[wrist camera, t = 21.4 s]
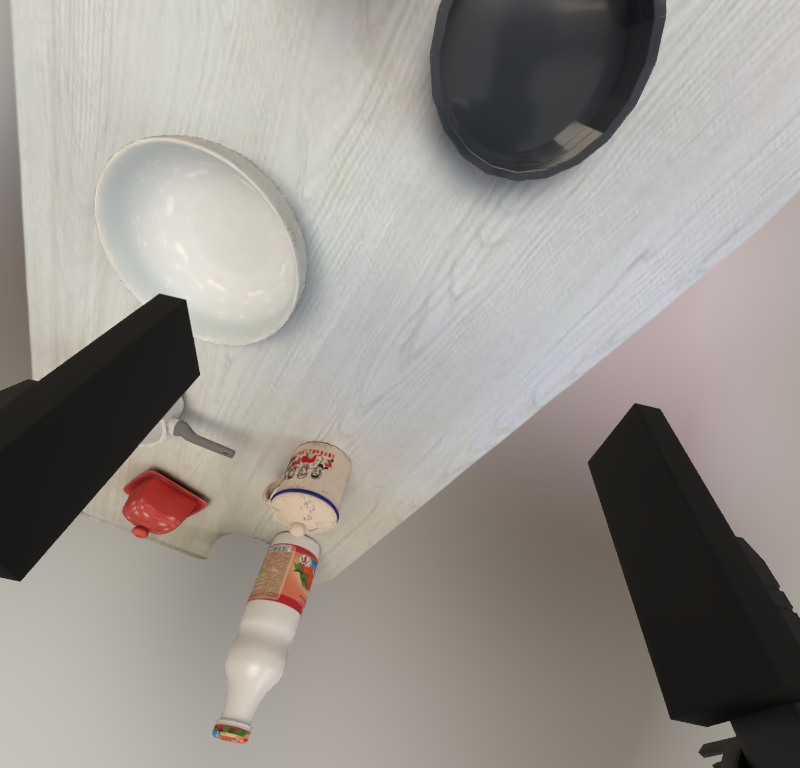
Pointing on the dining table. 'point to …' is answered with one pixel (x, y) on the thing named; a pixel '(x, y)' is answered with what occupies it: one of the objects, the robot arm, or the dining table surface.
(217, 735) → the fruit juice
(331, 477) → the teacup with lid
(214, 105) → the dining table surface
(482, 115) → the dark grey round dish
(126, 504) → the butter dish
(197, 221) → the cereal bowl
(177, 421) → the saucepan
